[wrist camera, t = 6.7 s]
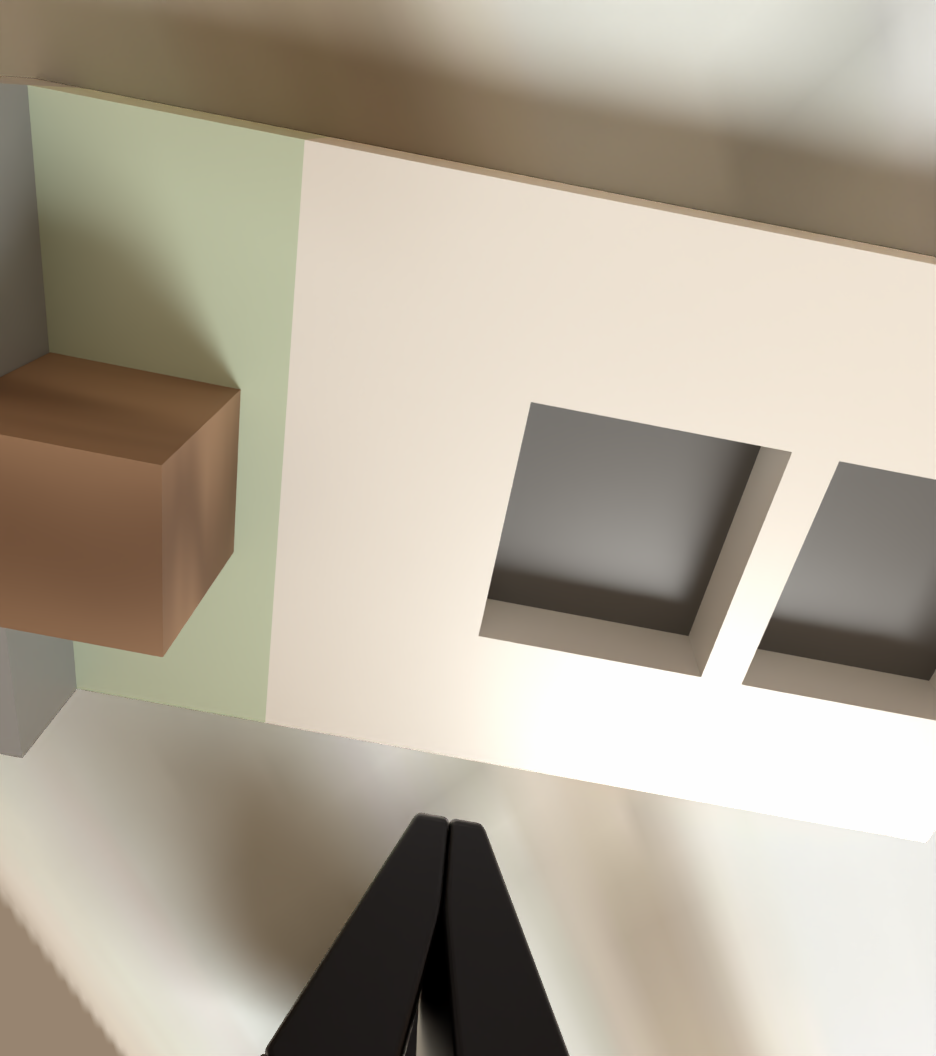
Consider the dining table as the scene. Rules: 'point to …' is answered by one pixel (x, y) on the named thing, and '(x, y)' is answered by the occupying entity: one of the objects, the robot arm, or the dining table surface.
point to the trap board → (506, 458)
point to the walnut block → (112, 500)
